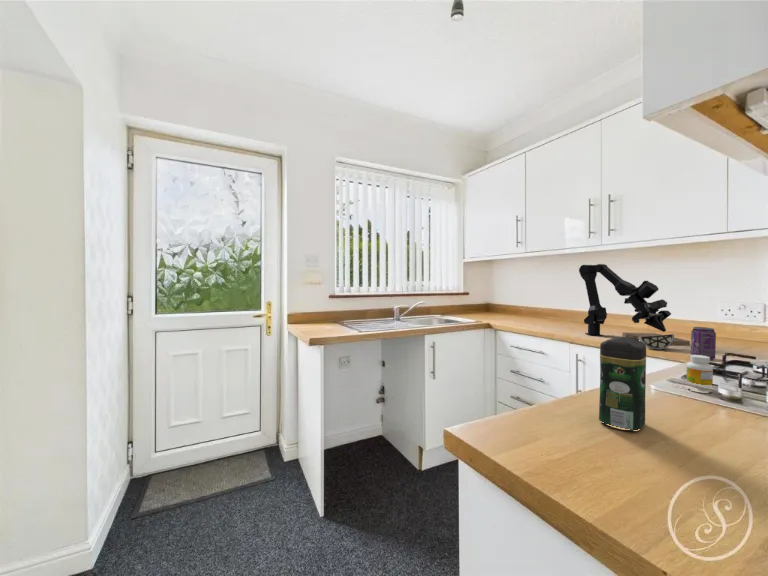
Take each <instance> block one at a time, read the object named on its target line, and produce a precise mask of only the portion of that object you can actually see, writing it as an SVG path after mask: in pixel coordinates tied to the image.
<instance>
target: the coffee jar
mask: <svg viewBox="0 0 768 576" xmlns="http://www.w3.org/2000/svg"><path fill="white" fill-rule="evenodd" d="M599 347H600V348H599V368H600V371H599V375H600V376H599V402H598V403H599V406H598V420H599V422H600V421H602V422H604V423H606V424H609V425H612V426H616V427H620V428H625V429H630V430H638V429H641V428H642V427H645V424H646V388H647V387H646V380H647V377H646V376H647V375H646V374H647V348H648V347H646V345H645V344H644V343H642V342H641V341H639V340H638V339H636V338H629V337H624V336H615V337H613V338H610V339H607V340H604V341H602V342H601V343H600V345H599ZM642 429H643V428H642ZM642 429H641V430H642Z"/></svg>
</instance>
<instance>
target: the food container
mask: <svg viewBox="0 0 768 576" xmlns="http://www.w3.org/2000/svg"><path fill="white" fill-rule="evenodd" d="M674 338H675V334H674V333H669V334H661V335H659V336H647V337H639V339H640V341H641V342H642V343H644V344H645V345H646V348H649V349H650V350H657V351H658V350H664V349H667V348H669V347H670V346H672V345H671V344H672V342H673V340H674Z"/></svg>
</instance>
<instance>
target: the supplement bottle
mask: <svg viewBox="0 0 768 576" xmlns="http://www.w3.org/2000/svg"><path fill="white" fill-rule="evenodd" d="M689 360H690V362H687V364H686V380H687V381H689V382H692V383H696V384H701V385H712V384H713V383H714V382H713V380H714V379H713V378H714V367H713V366H712V365H711V364H709V363H710V362H711V360H710V357H707V356H702V355H691V354H690V359H689ZM686 380H685V381H686ZM713 385H714V384H713Z"/></svg>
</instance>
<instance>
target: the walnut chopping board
mask: <svg viewBox="0 0 768 576" xmlns="http://www.w3.org/2000/svg"><path fill="white" fill-rule="evenodd" d="M659 335H662V334H660V333H656V332H627V331H625V332H622V336H621V337H624V336H625V337H629V338H636V339H638V340H640V339H639V337H647V336H659ZM672 344H676V345H675V346H691V340H687V339H683V338H680V337H679V338H678V337H674V340H673V342H672Z"/></svg>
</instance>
